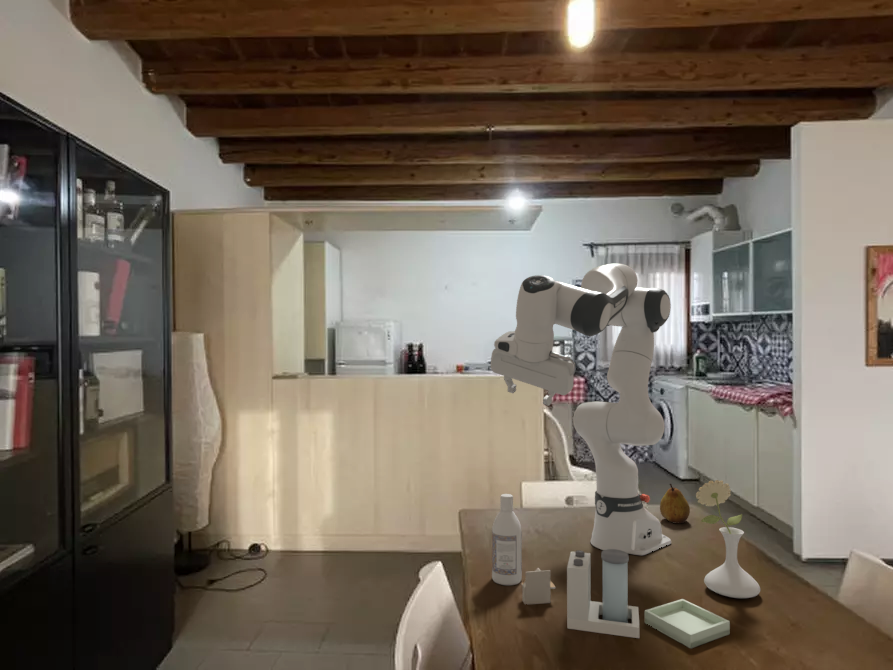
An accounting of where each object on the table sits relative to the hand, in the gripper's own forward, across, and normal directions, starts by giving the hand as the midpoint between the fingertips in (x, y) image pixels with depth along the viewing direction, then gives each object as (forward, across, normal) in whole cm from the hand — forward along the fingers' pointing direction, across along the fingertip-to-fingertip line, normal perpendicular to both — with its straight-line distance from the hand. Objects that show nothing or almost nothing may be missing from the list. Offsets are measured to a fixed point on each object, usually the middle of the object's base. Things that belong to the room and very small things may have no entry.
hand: (529, 397), depth 141 cm
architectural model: (+33, -18, +26) cm, 46 cm away
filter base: (+28, -32, +25) cm, 50 cm away
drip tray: (+27, -46, +18) cm, 57 cm away
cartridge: (+28, -34, +25) cm, 51 cm away
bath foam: (+38, -7, +20) cm, 43 cm away
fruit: (+57, -32, -45) cm, 79 cm away
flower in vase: (+34, -51, -3) cm, 62 cm away
